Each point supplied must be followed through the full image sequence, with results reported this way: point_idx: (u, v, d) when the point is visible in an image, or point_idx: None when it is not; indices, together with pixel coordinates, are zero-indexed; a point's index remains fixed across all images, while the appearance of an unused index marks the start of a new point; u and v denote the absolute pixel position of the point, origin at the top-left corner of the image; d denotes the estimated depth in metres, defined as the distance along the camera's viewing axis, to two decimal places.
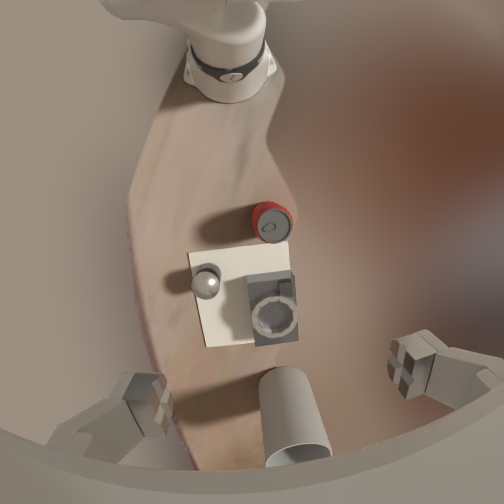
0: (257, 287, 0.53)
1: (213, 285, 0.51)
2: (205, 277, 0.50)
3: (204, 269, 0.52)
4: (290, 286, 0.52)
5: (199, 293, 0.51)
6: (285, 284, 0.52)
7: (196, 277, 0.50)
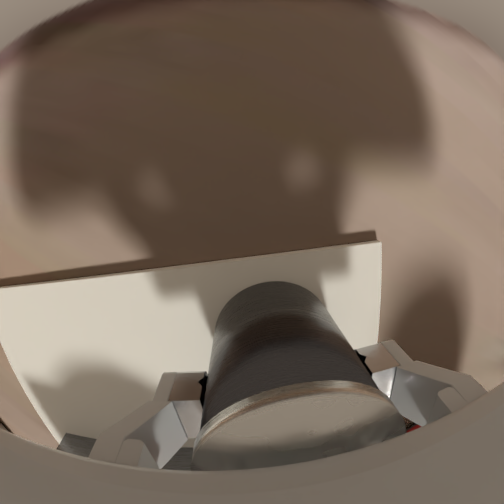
0: None
1: None
2: None
3: None
4: None
5: (243, 453, 0.05)
6: None
7: (387, 422, 0.05)
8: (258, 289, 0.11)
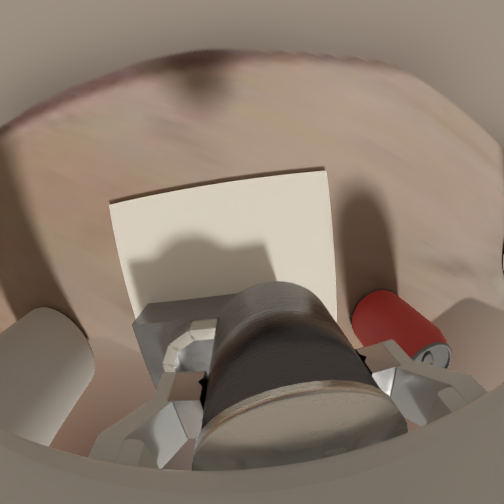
0: None
1: None
2: None
3: None
4: None
5: (245, 453, 0.05)
6: None
7: (388, 422, 0.05)
8: (259, 289, 0.11)
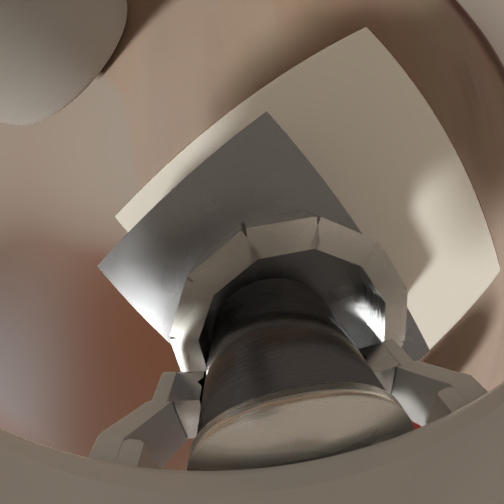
0: None
1: None
2: None
3: None
4: None
5: (261, 450, 0.04)
6: None
7: None
8: (276, 283, 0.10)
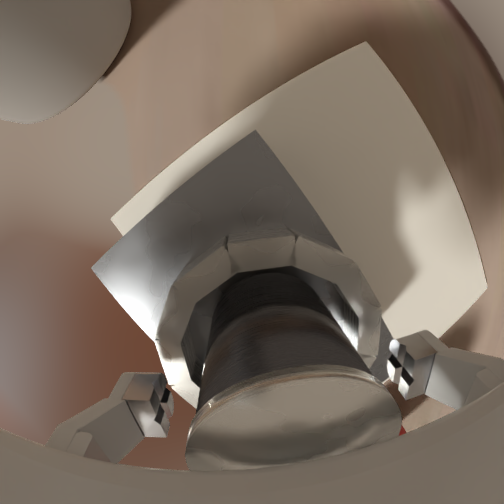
0: (373, 373, 0.13)
1: None
2: None
3: None
4: None
5: (254, 428, 0.05)
6: None
7: (388, 420, 0.05)
8: (271, 277, 0.11)
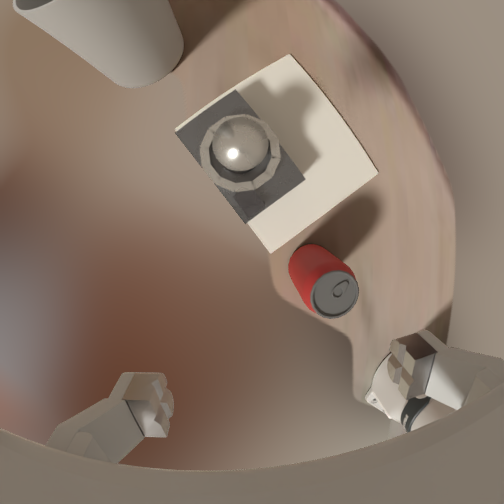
0: (288, 180, 0.33)
1: (238, 159, 0.25)
2: (257, 149, 0.25)
3: None
4: (246, 210, 0.32)
5: (229, 128, 0.24)
6: (255, 209, 0.32)
7: (262, 133, 0.25)
8: None
